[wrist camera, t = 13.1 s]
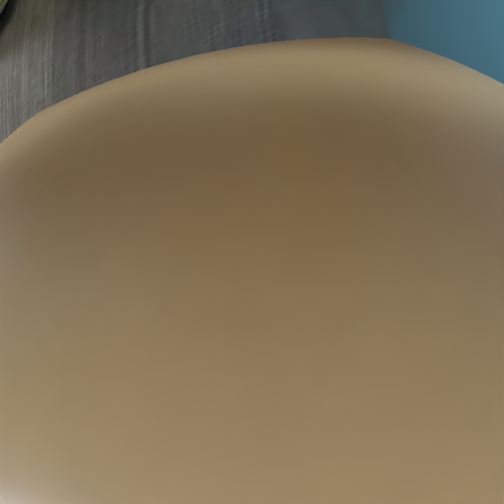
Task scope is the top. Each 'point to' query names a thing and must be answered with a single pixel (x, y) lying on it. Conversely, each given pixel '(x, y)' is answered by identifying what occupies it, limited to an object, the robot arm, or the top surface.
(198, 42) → the top surface
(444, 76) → the lid
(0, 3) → the air freshener
